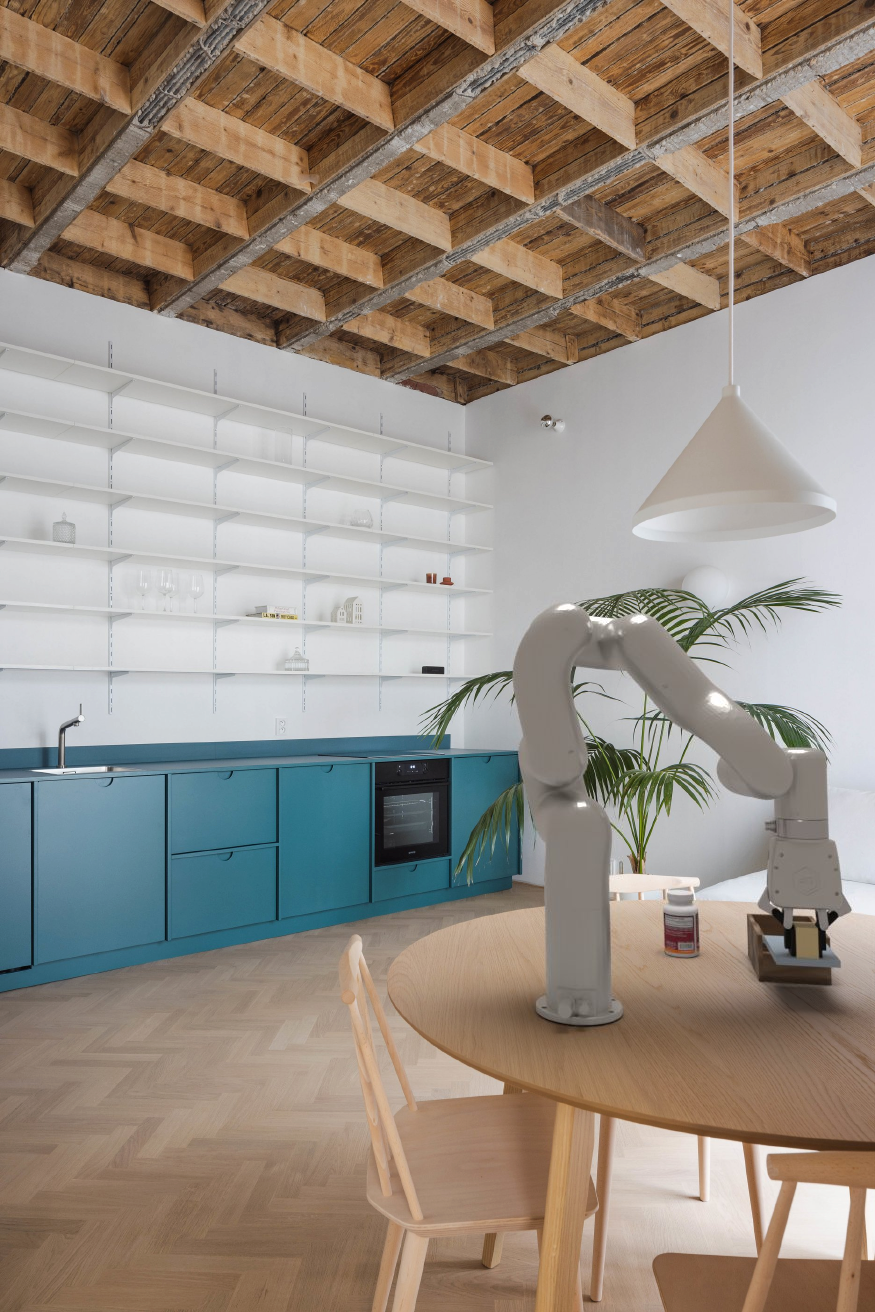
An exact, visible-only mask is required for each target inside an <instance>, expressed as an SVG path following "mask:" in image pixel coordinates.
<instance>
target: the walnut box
mask: <svg viewBox="0 0 875 1312" xmlns="http://www.w3.org/2000/svg"><path fill="white" fill-rule="evenodd" d="M792 922H813V923H814V925H815V923H816V918H814V917H813V916H812V915H798V914H797V915H796V914H795V915H794V914H793V920H792ZM746 925H747V926H746V929H747V932H746V934H747V956H748V959H749V961H750V963H751V965H752V968H753V970H754V972H755V976H756V977H757V980H758V982H762V983H763V982H767V983H785V984H803V985H804V984H805V985H822V986H823V985H824V986H832V984H833V983H832V981H833V979H832V967H813V966H794V965H777V964H776V962H775V960H774V959H773V957H772V955H771V953H770V952H769V950H768V948H767V946H766V944H765V943H764V935H768V936H784V926H783V925H782V924H781V923H780V922H779V921H778V920H777V919H776V918H775V917H774V916H773V915H771V914H769V913H766V914H764V913H746ZM826 944H827V945H828V946H829V947H830V948H831V938H830V936H829V935H828V934H827V933H826Z"/></svg>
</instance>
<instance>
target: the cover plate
mask: <svg viewBox="0 0 875 1312" xmlns="http://www.w3.org/2000/svg"><path fill="white" fill-rule="evenodd" d="M792 923H793V924H794V929H795V931H796V956H791V955H790V953H789V951H788V949H785V947H784V936H768V935H764V943H765V944H766V946H767V948H768V950H769V952H770V953H771V955H772V957H773V959H774V960H775V962H776V964H777V965H794V966H813V967H831V969H835V968H836V969H841V968H842V962H841V959H840V958H839V957H838V956H837V955H836V953H835V952H834V951H833V950H832V949H831V946H830V947H829V946H828V945H827V944H826V951H823V958H819V950H818V928H817V927H816V926H815V925H814V923H813V922H792Z"/></svg>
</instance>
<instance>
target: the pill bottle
mask: <svg viewBox="0 0 875 1312" xmlns="http://www.w3.org/2000/svg"><path fill="white" fill-rule="evenodd" d="M694 896H695V895H694V892H693V891H690V890H683V889H670V890H668V891H666V899H667V901H668V902H667V903H666V904H664V905H663V911H662V912H663V939H664V941H663V942H664V943H663V944H664V951H665V953H666V954H667V955H668V956H671V957H675V958H683V959H684V958H685V959H686V958H695V957H697V956H698V955H700V945H701V944H700V926H699V925H700V922H699V919H700V918H699V908H698V907H697V905H696V904H694V903H693V902H694Z"/></svg>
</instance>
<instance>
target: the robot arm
mask: <svg viewBox="0 0 875 1312" xmlns="http://www.w3.org/2000/svg"><path fill="white" fill-rule="evenodd" d="M512 666H513V667H512V687H513V692H514V693H513V694H514V698H515V704H516V708H517V713H518V719H519V723H520V727H521V731H522V737H521V740H520V742H519V746H518V750H517V751H518V752H517V754H518V755H517V756H518V757H517V758H518V764H519V769H520V775H521V777H522V782H523V786H524V790H525V794H526V798H527V802H528V806H529V809H530V814H531V817H532V821H533V825H534V827H535V830H536V832H537V834H538V836H539V837H540V838H541V840H542V841H543V842H544V843H545V857H544V859H545V860H544V862H545V863H544V884H543V885H544V886H543V887H544V888H543V889H544V890H543V891H544V892H543V893H544V894H543V895H544V900H543V901H544V923H545V924H544V925H545V926H544V930H545V931H544V932H545V933H544V934H545V935H544V936H545V937H544V938H545V940H544V941H545V990H546V991H545V993H546V994H544V995H541V996H540V997H539V998H537V999H536V1000H535V1001H536V1002H535V1011H536V1013H537V1014H538V1015H539V1016H540V1017H542V1018H544V1019H547V1020H549V1021H551V1022H556V1023H560V1024H565V1025H573V1026H595V1025H598V1026H599V1025H603V1024H609V1023H611V1022H615V1021H617V1020H618V1019H620V1018H621V1017H622V1016H623V1013H624V1009H623V1007H624V1006H623V1004H622V1003H621V1001H620V1000H618V999H617V998H615V997H613V996H612V993H613V991H612V954H611V953H612V946H611V944H612V943H611V940H612V939H611V904H610V868H611V867H610V866H611V858H612V857H611V856H612V847H613V846H612V845H613V844H612V843H613V831H612V826H611V825H612V824H611V821H610V818H609V816H608V814H607V812H606V810H605V809H604V808H603V806H602V805H601V804H600V802H598V801H596V800H595V799H593V798H591V796H589V795H588V792H587V788H586V784H585V779H584V774H585V772H586V771H587V768H588V764H589V753H588V747H587V745H586V741H585V738H584V734H583V730H582V729H581V728H582V727H581V725H580V720H579V716H578V712H577V709H576V705H575V700H574V695H573V690H572V681H571V679H572V678H571V675H572V668H573V667H576V668H577V667H578V668H586V669H594V670H604V671H617V672H618V671H619V672H621V671H622V672H626V673H627V674H628V675H629V676H630V678H631V679H632V680H633V681H634V682H635V683H636V684H637V685H638V687H639V688H640V689H641V690H642V691H643V692H644V693H645V694H646V695H647V697H648V698H649V699H650V700H651V701H652V703H653V704H654V706H656V707H657V709H659V711H660V712H661V714H662V715H663V716H665V718H666V719H668V720H669V721H670V722H672V723H673V724H674V725H675V726H677V727H679V728H680V729H682V730H684V731H686V732H688V733H690V734H692V735H693V736H695V737H696V738H698V739H699V740H700V741H703V743H704V744H705V745H707V746H708V747H710V748H711V749H712V750H713V751H714V752H715V753H716V754H717V755H718V756H719V759H718V762H717V763H716V775H717V778H718V780H719V782H720V784H721V785H722V786H723V787H724V788H725V789H726V790H728V791H729V792H731V793H734V794H736V795H740V796H744V797H749V798H753V799H757V800H762V801H763V800H765V801H770V800H773V804H774V805H773V806H774V807H773V808H774V810H773V811H774V816H773V819H772V820H769V821H764V830H765V831H766V832H767V831H770V832H772V833H773V835H774V837H771V838H770V840H769V846H768V855H767V863H766V864H767V867H766V887H765V889H764V890H763V892H762V894H761V895H760V898H759V899H758V902H757V907H758V908H759V909H760V910H761V911H763V912H766V914H771V915H773V916H774V917H775V918H776V919H777V920H778V921H779V922H780V923H781V924H782V925H783V926H784V947H785V949H788V951H789V953H790V955H791V956H796V931H795V929H794V924H793V923H792V920H793V915H794V910H808V911H809V910H810V911H811V910H812V911H814V915H815V920H816V923H815V926H816V927H817V928H818V950H819V958H823V951H826V934H827V930H828V929H829V928H830V926H831V925H832V924H833V923H834V922H836V920H837V919H838V918H841V917H843V916H846V915H848V914H850V913H852V910H853V909H852V906H851V905H850V903H849V902H848V900H847V899H846V896H845V895H844V893H843V882H842V876H841V866H840V860H839V852H838V849H837V848H838V847H837V844H836V841H835V840H833V839H830V836H829V833H830V832H829V830H830V829H829V800H828V798H829V797H828V765H827V756H826V754H825V752H824V751H823V750H821V749H819V748H815V747H780V745H779V744H778V743H777V742H776V741H775V739H774V738H773V737H772V736H771V735H770V733H769V732H768V731H767V730H766V729H765V728H764V727H763V726H762V724H760V723H759V721H757V720H756V719H755V718H754V717H753V716H752V715H751V713H749V712H747V711H746V709H744V708H743V707H742V706H741V705H739V704H738V703H737V702H736V701H734V699H732V698H731V697H730V696H729V695H728V694H726V693H725V692H724V691H723V690H721V689H720V688H719V687H718V686H716V685H715V684H714V683H713V682H712V681H711V680H710V679H709V678H708V677H707V676H706V674H705V673H704V672H703V671H702V670H701V668H699V666H698V665H697V664H696V663H695V661H694V660H692V658H691V657H690V655H688V654H687V652H686V651H685V650H684V649H683V648H682V647H681V645H679V643H678V642H677V641H676V640H675V639H674V637H673V636H672V635H671V634H670V633H669V632H668V630H667V629H666V628H665V627H664V626H663V625H662V624H661V622H659V621H658V620H657V619H656V618H654V617H653V616H651V615H649V614H646V613H644V612H641V613H640V612H636V613H635V612H634V613H630V614H627V615H624V616H622V617H619V618H615V617H602V616H593V615H592V616H591V615H589V614H588V612H587V611H586V609H584V608H583V607H582V606H581V605H579V604H576V603H573V602H559V603H556V604H555V603H554V604H553V605H550V606H549V607H547V608H546V609H545V610H544V611H542V612H541V613H539V614H538V615H537V616H536V617H535V618H534V619H533V620H532V622H530V625H529V627H528V628H527V630H526V632H525V634H524V635H523V637H522V639H521V641H520V643H519V644H518V647H517V650H516V653H515V657H514V661H513V665H512ZM779 908H780V909H781V910H780V909H779Z"/></svg>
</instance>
